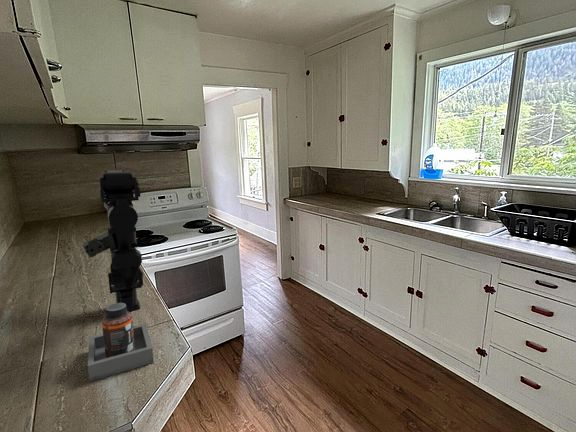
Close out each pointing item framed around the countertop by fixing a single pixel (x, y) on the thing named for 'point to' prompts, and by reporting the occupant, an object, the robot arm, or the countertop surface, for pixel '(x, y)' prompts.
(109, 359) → the tray
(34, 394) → the countertop surface
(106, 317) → the supplement bottle
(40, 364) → the countertop surface
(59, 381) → the countertop surface
